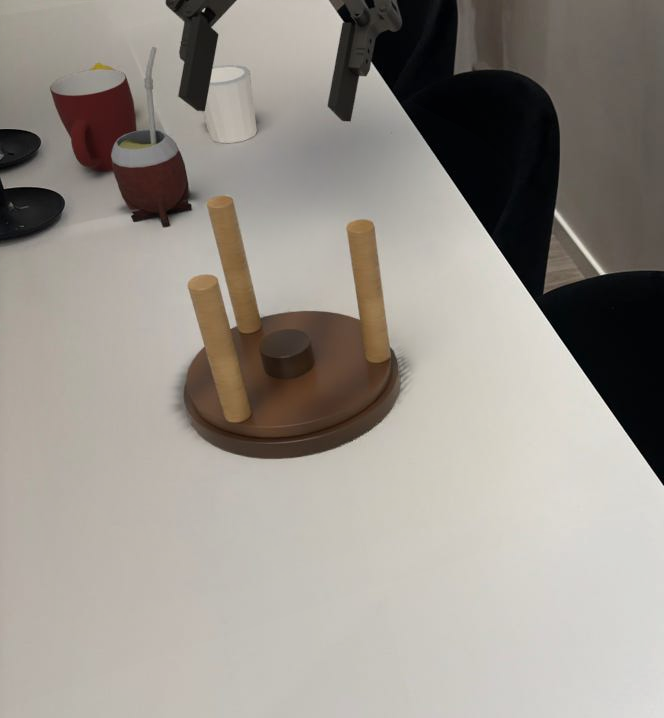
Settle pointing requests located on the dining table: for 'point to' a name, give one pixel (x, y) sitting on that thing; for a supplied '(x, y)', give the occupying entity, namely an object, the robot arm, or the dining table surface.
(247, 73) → the shot glass
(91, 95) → the mug
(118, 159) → the mate gourd
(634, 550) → the dining table surface
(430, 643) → the dining table surface
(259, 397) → the rack turntable
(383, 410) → the rack base
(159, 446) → the dining table surface
